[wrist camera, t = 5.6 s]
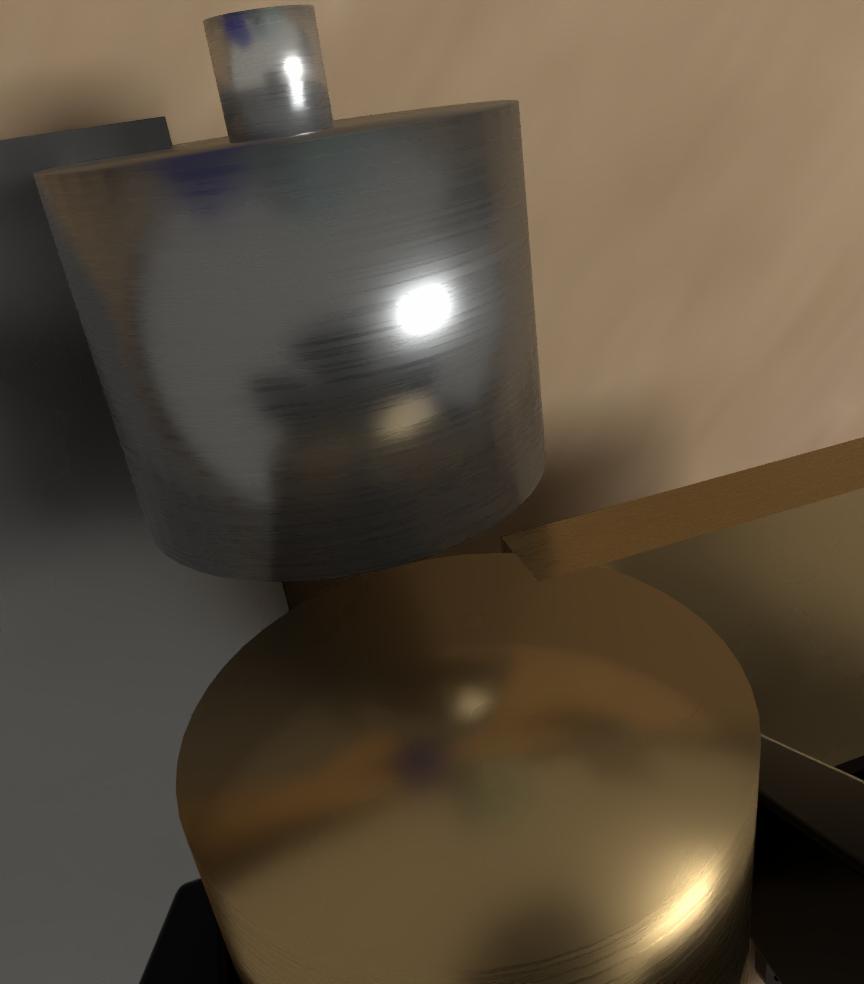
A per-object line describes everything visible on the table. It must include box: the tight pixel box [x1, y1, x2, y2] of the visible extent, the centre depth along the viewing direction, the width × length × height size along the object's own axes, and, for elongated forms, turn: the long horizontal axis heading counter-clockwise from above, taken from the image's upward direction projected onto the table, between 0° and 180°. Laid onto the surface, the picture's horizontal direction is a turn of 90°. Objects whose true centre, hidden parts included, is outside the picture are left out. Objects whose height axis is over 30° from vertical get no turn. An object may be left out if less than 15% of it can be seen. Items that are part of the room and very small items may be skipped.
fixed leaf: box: [0, 5, 546, 984], centre depth 10 cm, size 14×10×4 cm
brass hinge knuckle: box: [176, 437, 864, 984], centre depth 8 cm, size 4×10×4 cm, turn 98°
